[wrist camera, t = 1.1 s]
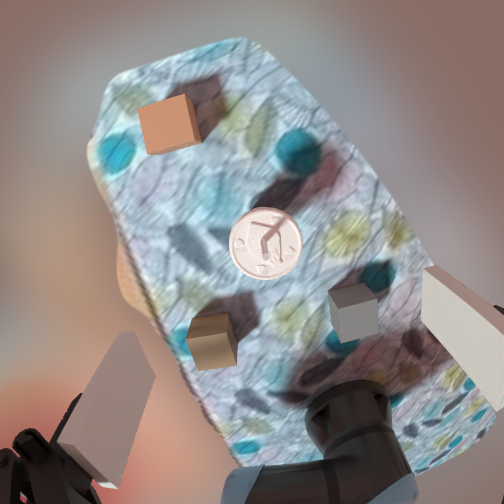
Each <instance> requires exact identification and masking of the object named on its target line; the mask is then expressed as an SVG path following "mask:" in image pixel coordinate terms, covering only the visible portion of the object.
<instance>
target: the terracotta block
mask: <svg viewBox="0 0 504 504" xmlns="http://www.w3.org/2000/svg"><path fill="white" fill-rule="evenodd" d="M138 113H139V118H140V123H141V128H142V132H143V137H144V142H145V146H146V150H147V154H152V155H161V154H165V153H168V152H172V151H175V150H178V149H182V148H185V147H189V146H193V145H196V144H200V143H202V140H201V136H200V131H199V127H198V123H197V118H196V114H195V109H194V105H193V102H192V101H191V100H190V99H189V98H188V97H187V96H186V95H185V94H182V95H178V96H175V97H172V98H168V99H165V100H162V101H159V102H156V103H153V104H150V105H147V106H144V107H141V108H139V109H138Z"/></svg>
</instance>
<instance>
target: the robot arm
mask: <svg viewBox="0 0 504 504" xmlns="http://www.w3.org/2000/svg"><path fill="white" fill-rule="evenodd" d="M421 321H422V322H423V323H424V324H425V326H426V327H427V328H428V329H429V330H430V331H431V332H432V333H433V335H434V336H435V337H436V338H437V339H438V340H439V341H440V343H441V344H442V345H443V346H444V347H445V348H446V349H447V351H448V352H449V353H450V354H451V355H452V356H453V358H454V359H455V360H456V361H457V362H458V364H459V365H460V366H461V367H462V368H463V370H464V371H465V372H466V373H467V375H468V376H469V377H470V378H471V379H472V381H473V382H474V383H475V384H476V386H477V387H478V388H479V390H480V391H481V392H482V393H483V395H484V396H485V397H486V399H487V400H488V401H489V402H490V404H491V405H492V406H493V408H494V409H495V410H496V411H498V410H500V409H501V408H503V407H504V308H501V307H499V306H497V305H494V306H491V305H490V304H489V303H488V302H486V301H485V300H483V299H482V298H481V297H480V296H478V295H477V294H476V293H475V292H473V291H472V290H471V289H469V288H468V287H466V286H465V285H464V284H462V283H461V282H460V281H458V280H457V279H456V278H454V277H453V276H451V275H450V274H449V273H447V272H446V271H444V270H443V269H441V268H440V267H439V266H437V265H434V266H431V267H427V268H424V269H423V290H422V310H421ZM155 377H156V376H155V373H154V372H153V370H152V368H151V366H150V364H149V362H148V360H147V358H146V356H145V354H144V352H143V349H142V348H141V345H140V343H139V341H138V339H137V337H136V334H135V332H134V330H133V331H126V332H120V333H119V334H118V336H117V338H116V339H115V341H114V342H113V344H112V345H111V347H110V349H109V351H108V352H107V354H106V355H105V357H104V359H103V360H102V362H101V363H100V365H99V367H98V368H97V370H96V372H95V374H94V375H93V377H92V379H91V380H90V382H89V384H88V385H87V387H86V389H85V391H84V392H83V393H80V394H79V395H78V396H77V397H76V398H75V399H74V400H73V401H72V402H71V404H70V406H69V408H68V410H67V412H66V413H65V415H64V416H63V419H62V420H61V422H60V424H59V426H58V427H57V429H56V431H55V433H54V435H53V436H52V438H51V440H50V442H49V443H48V442H47V441H46V440H45V439H44V437H43V436H42V435H41V434H40V433H39V432H38V431H37V430H36V429H33V428H29V429H25V430H23V431H22V432H20V433H19V434H18V435H17V436H16V437H15V439H14V441H13V446H12V447H13V449H14V450H15V451H16V452H17V453H18V454H19V455H20V456H21V457H18V456H17V455H16V454H15V453H14V452H13V451H12V450H10V449H8V448H4V449H1V450H0V504H25V503H23V502H22V501H21V500H20V494H21V495H22V496H24V497H25V498H26V504H102V503H101V501H100V499H99V497H98V495H97V493H96V490H95V489H94V488H93V486H92V485H91V482H92V479H94V480H95V481H96V482H97V483H98V484H99V485H101V486H102V487H108V488H114V489H119V486H120V483H121V479H122V476H123V473H124V470H125V466H126V463H127V460H128V457H129V454H130V451H131V447H132V444H133V441H134V438H135V435H136V432H137V429H138V426H139V423H140V420H141V417H142V414H143V411H144V408H145V406H146V403H147V399H148V397H149V394H150V391H151V388H152V386H153V383H154V380H155ZM305 425H306V430H307V433H308V435H309V437H310V438H311V439H312V441H313V442H314V444H315V445H316V446H317V448H318V449H319V451H320V452H321V453H322V455H323V457H324V460H316V461H309V462H301V463H293V464H283V465H272V466H265V464H262V465H260V466H254V467H241V468H237V469H234V470H233V471H231V472H230V474H229V475H228V477H227V479H226V482H225V485H224V488H223V492H222V497H221V502H220V504H415V503H416V501H417V500H418V497H419V490H418V487H417V484H416V480H415V474H414V473H413V472H412V470H411V468H410V466H409V464H408V461H407V459H406V457H405V455H404V452H403V450H402V448H401V446H400V444H399V442H398V440H397V437H396V435H395V433H394V431H393V429H392V410H391V401H390V398H389V396H388V394H387V392H386V390H385V389H384V388H383V387H382V386H381V385H380V384H378V383H376V382H372V381H353V382H348V383H344V384H341V385H339V386H336V387H334V388H332V389H330V390H328V391H326V392H325V393H323V394H322V395H320V396H319V397H318V398H317V399H316V400H314V401H313V403H312V404H311V405H310V406H309V408H308V409H307V412H306V414H305ZM502 504H504V497H503V500H502Z"/></svg>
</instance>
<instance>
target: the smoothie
mask: <svg viewBox="0 0 504 504" xmlns="http://www.w3.org/2000/svg"><path fill="white" fill-rule="evenodd" d="M229 247H230V254H231V257H232V259H233V261H234V263H235V265H236V266H237V267H238V268H239V269H240V270H241V271H242V272H243V273H244V274H246V275H248V276H250V277H252V278H255V279H260V280H271V279H276V278H279V277H281V276H283V275H285V274H287V273H288V272H289V271H291V270H292V269H293V268H294V266H295V265H296V264H297V262H298V261H299V259H300V256H301V253H302V248H303V240H302V235H301V232H300V230H299V227H298V225H297V223H296V222H295V221H294V220H293V218H292V217H291V216H289V215H288V214H287V213H285V212H284V211H281V210H279V209H276V208H269V207H257V208H254V209H252V210H251V211H249V212H247V213H245V214H244V215H243V216H242V217H240V218H239V219H238V221H237V222H236V223H235V225H234V226H233V228H232V231H231V234H230V241H229Z"/></svg>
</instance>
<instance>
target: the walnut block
mask: <svg viewBox="0 0 504 504" xmlns="http://www.w3.org/2000/svg"><path fill="white" fill-rule="evenodd" d="M186 342H187V344H188V347H189V350H190V352H191V355H192V357H193V360H194V362H195V364H196V367H197V369H198V371H201V370H209V369H216V368H223V367H230V366H236V365H237V349H238V342H237V339H236V336H235V332H234V329H233V325H232V322H231V319H230V315H229V312H227V313H222V314H216V315H211V316H205V317H200V318H194V319H192V320H191V323H190V327H189V330H188V333H187V336H186Z"/></svg>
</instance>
